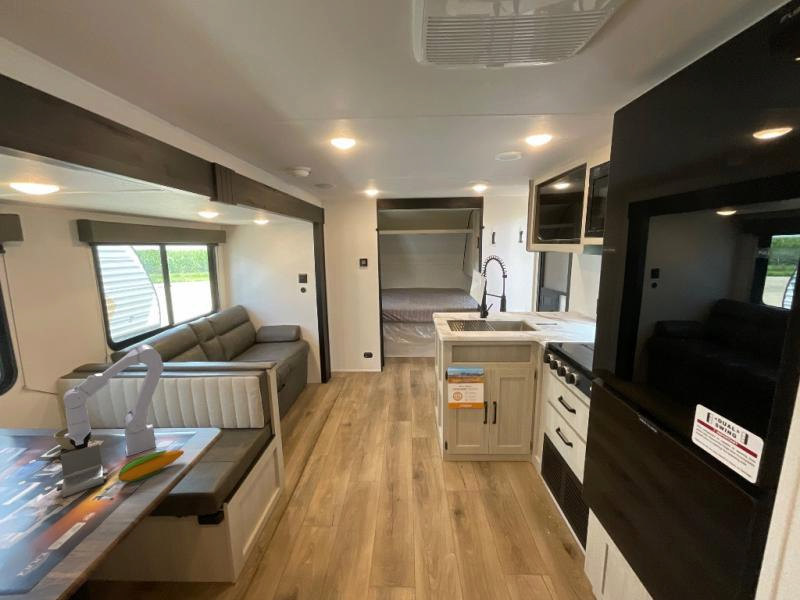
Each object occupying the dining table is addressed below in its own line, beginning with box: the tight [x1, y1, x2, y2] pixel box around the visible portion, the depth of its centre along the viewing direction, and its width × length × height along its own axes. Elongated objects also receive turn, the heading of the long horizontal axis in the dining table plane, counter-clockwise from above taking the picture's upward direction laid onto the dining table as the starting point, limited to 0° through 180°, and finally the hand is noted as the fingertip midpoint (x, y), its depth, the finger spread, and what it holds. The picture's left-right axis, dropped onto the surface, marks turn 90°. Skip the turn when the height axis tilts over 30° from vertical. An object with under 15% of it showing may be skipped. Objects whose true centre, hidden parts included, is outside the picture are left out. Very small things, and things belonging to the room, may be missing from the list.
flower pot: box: [53, 427, 76, 451], centre depth 134 cm, size 10×10×7 cm
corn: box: [117, 449, 185, 483], centre depth 120 cm, size 7×8×20 cm
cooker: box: [56, 465, 109, 500], centre depth 113 cm, size 13×8×3 cm, turn 133°
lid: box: [60, 443, 103, 478], centre depth 116 cm, size 10×8×2 cm
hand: (83, 453), depth 121 cm, fingers closed
